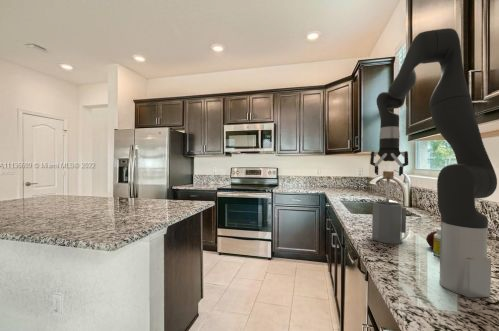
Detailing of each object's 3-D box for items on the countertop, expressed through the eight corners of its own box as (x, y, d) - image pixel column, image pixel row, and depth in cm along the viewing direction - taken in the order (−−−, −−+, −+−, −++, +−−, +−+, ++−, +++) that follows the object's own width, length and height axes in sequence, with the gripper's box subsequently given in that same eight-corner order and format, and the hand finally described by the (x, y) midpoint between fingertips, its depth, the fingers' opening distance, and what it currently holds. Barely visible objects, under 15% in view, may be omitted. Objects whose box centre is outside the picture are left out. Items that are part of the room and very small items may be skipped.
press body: (414, 244, 99) (415, 205, 99) (382, 244, 98) (383, 205, 98) (395, 235, 110) (396, 201, 110) (366, 236, 109) (367, 201, 109)
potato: (455, 250, 93) (455, 232, 93) (443, 253, 89) (444, 234, 89) (433, 244, 99) (433, 227, 99) (422, 247, 96) (422, 229, 96)
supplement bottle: (432, 255, 87) (433, 228, 87) (434, 251, 91) (434, 226, 91) (451, 259, 83) (452, 232, 83) (452, 255, 87) (453, 229, 87)
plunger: (403, 215, 100) (404, 171, 100) (384, 215, 99) (385, 171, 99) (389, 211, 108) (390, 171, 108) (372, 211, 108) (373, 170, 107)
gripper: (408, 138, 103) (407, 175, 103) (371, 139, 110) (370, 174, 110) (409, 136, 97) (408, 176, 97) (370, 137, 104) (369, 174, 104)
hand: (388, 175), depth 104 cm, fingers open, 8 cm apart
